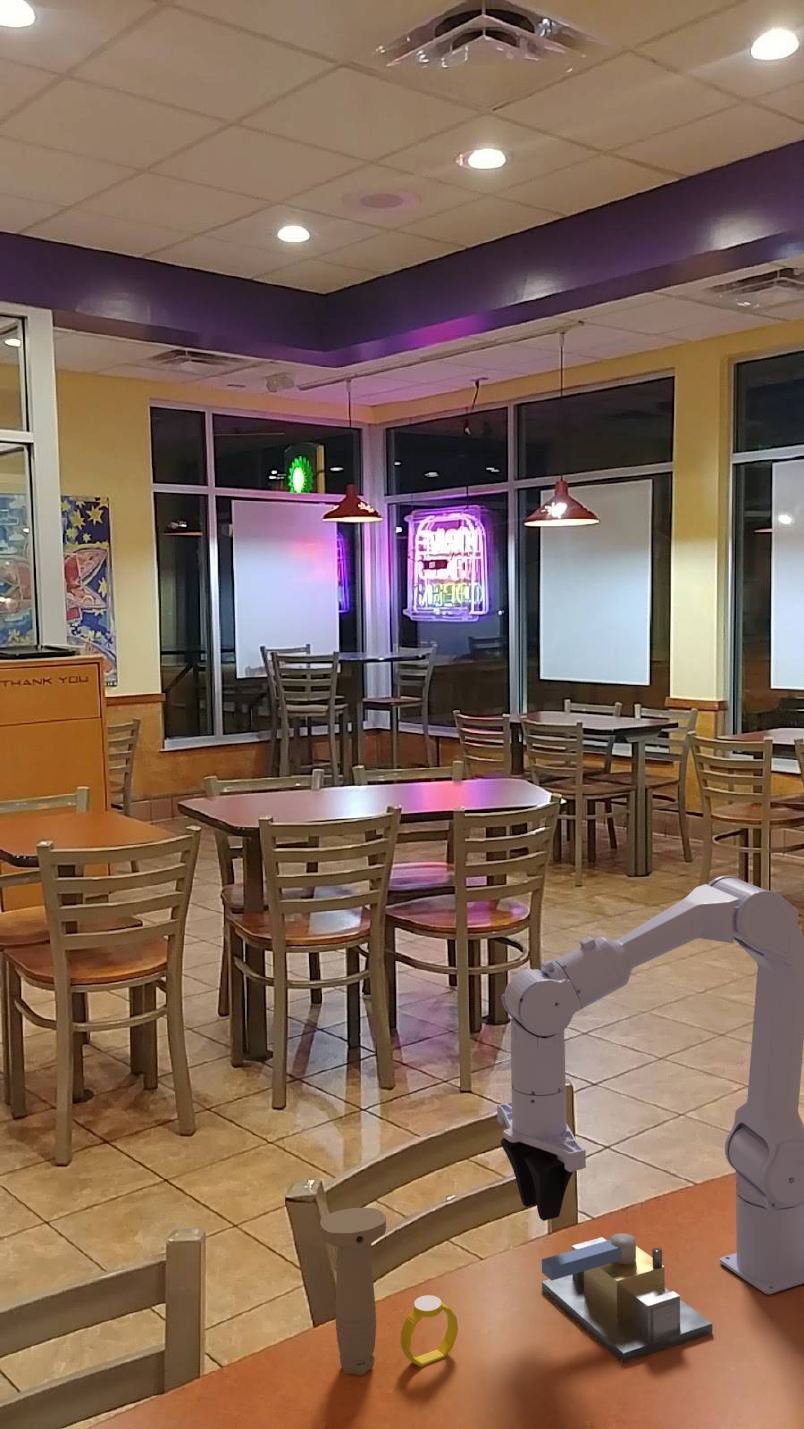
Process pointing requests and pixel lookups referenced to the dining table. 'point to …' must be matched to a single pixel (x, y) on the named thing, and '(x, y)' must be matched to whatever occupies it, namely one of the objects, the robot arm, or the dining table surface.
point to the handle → (354, 1283)
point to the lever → (591, 1257)
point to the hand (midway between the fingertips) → (540, 1210)
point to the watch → (428, 1308)
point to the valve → (628, 1305)
